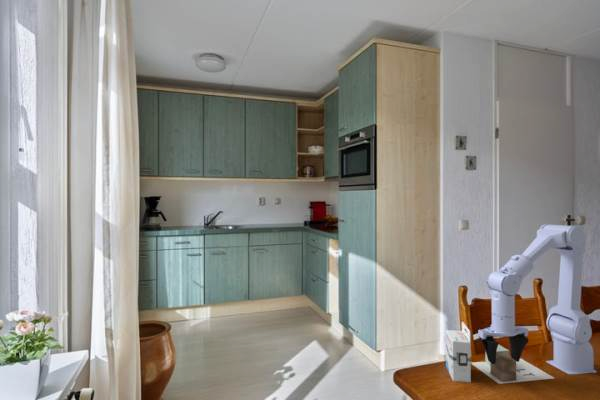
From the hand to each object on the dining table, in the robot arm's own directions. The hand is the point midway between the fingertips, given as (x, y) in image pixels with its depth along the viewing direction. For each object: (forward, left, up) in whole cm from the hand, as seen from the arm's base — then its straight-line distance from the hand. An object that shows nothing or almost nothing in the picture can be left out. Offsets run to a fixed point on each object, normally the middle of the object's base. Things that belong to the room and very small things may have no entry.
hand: (503, 361), depth 95 cm
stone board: (-5, -3, -5) cm, 8 cm away
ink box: (+12, -3, -5) cm, 14 cm away
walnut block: (0, 0, -5) cm, 5 cm away
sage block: (-3, -6, -5) cm, 8 cm away
